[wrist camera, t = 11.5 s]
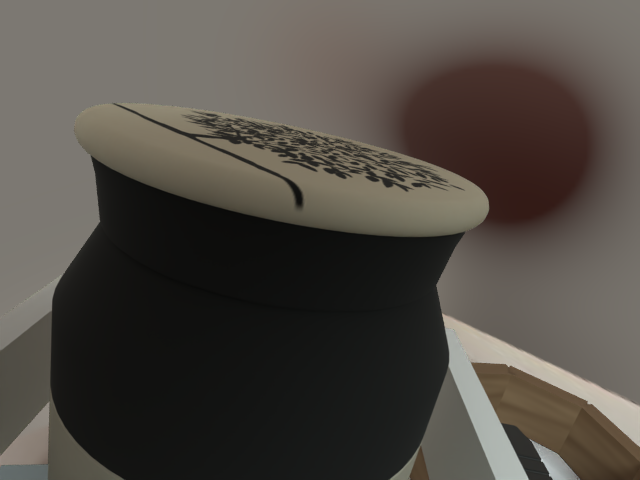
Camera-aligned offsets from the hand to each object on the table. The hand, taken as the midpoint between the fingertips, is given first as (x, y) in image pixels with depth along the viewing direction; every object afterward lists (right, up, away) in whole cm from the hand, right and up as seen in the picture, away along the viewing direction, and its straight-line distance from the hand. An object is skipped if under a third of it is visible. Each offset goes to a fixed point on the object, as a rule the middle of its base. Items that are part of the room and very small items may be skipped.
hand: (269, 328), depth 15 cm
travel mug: (-3, -12, 0) cm, 12 cm away
